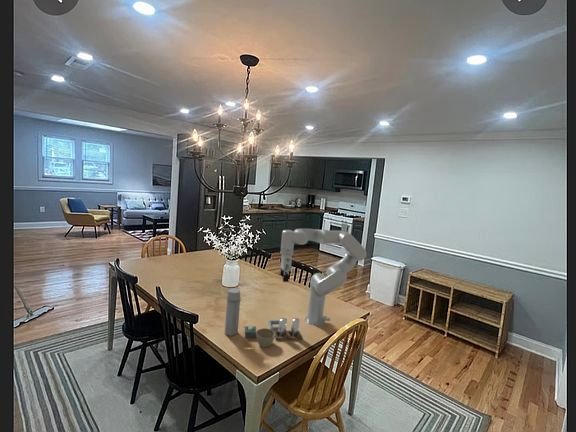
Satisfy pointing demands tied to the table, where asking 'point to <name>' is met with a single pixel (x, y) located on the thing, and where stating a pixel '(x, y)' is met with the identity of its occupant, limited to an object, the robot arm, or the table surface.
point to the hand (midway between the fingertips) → (284, 278)
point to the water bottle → (232, 311)
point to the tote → (273, 322)
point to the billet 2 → (294, 327)
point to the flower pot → (265, 337)
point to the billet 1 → (282, 327)
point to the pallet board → (288, 336)
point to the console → (250, 332)
